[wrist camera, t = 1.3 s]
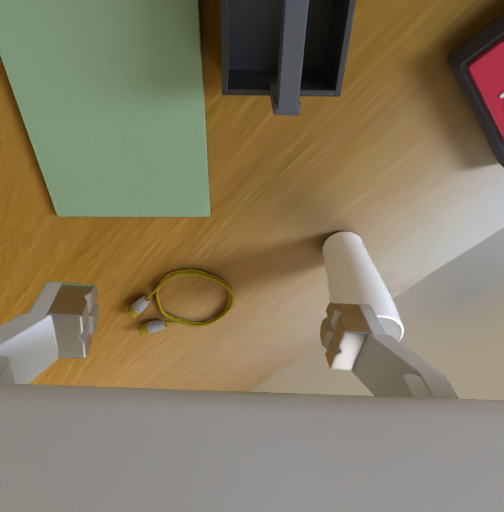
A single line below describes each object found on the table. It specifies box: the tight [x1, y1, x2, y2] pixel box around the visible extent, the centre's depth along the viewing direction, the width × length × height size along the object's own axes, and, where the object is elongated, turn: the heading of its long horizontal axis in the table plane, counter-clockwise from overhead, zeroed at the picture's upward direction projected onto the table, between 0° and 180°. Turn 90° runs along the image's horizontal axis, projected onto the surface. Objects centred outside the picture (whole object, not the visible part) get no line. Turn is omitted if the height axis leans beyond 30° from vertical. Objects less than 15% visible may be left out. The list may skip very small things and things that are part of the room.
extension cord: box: [126, 269, 234, 335], centre depth 57 cm, size 12×16×2 cm
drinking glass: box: [322, 231, 404, 341], centre depth 46 cm, size 7×7×15 cm
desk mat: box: [0, 0, 210, 217], centre depth 39 cm, size 24×18×1 cm
